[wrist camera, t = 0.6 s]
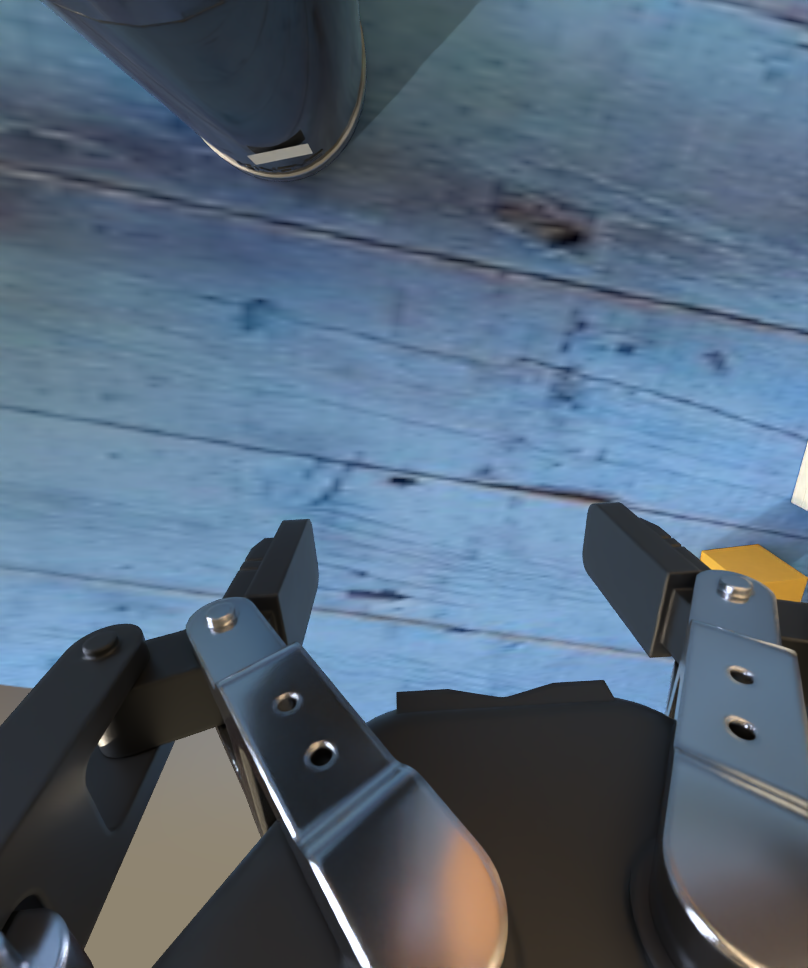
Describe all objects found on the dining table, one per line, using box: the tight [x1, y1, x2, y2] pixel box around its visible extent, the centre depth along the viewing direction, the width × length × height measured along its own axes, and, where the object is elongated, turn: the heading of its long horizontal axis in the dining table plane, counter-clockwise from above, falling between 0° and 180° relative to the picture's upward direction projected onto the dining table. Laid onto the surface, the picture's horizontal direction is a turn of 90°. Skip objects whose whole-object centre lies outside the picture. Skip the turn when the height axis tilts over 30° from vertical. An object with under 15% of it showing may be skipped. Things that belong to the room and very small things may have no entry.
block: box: [700, 544, 808, 602], centre depth 32 cm, size 4×4×4 cm
